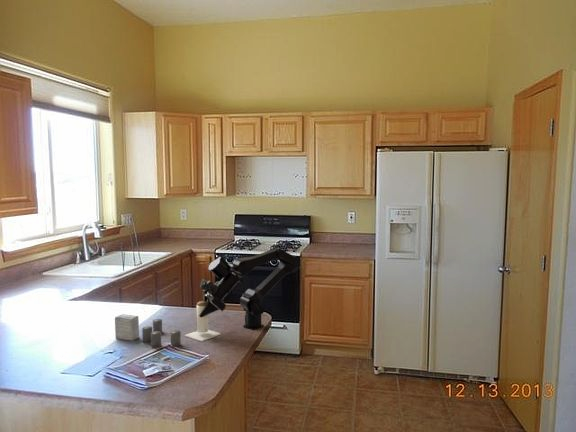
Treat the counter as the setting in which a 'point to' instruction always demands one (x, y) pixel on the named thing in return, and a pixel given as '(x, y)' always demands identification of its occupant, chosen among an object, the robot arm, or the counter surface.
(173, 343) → the spacer
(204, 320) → the jar
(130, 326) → the medicine box
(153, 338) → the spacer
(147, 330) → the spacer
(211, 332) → the mat
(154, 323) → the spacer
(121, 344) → the counter surface
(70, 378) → the counter surface
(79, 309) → the counter surface
